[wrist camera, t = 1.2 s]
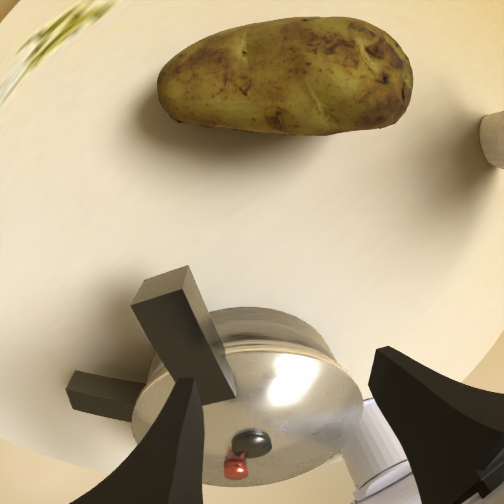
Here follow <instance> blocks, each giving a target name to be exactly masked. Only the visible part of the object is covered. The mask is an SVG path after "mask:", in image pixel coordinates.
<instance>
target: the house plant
mask: <svg viewBox="0 0 504 504" xmlns="http://www.w3.org/2000/svg"><path fill="white" fill-rule="evenodd" d="M479 137H480V144H481V148H482V152H483V154H484V156H485V158H486V160H487V161H488V162H489V163H490V164H491V165H494V166H496V167H499V168H502V169H504V111H501V112H497V113H494V114H490V115H487V116H485V117H484V118H483V119H482V121H481V124H480V130H479Z"/></svg>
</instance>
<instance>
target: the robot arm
mask: <svg viewBox="0 0 504 504" xmlns="http://www.w3.org/2000/svg"><path fill="white" fill-rule="evenodd" d="M368 386H369V388H370V391H371V393H372V396H373V399H369V400H366V401H363V414H362V418H361V421H360V424H359V426H358V428H357V430H356V432H355V433H354V435H353V436H352V438H351V439H350V440H349V441H348V442H347V444H346V445H345V446H344V447H343V448H342V449H341V450H340V451H341V454H342V456H343V459H344V461H345V463H346V465H347V468H348V470H349V473H350V475H351V478H352V480H353V482H354V485H355V487H356V489H357V491H355V492H354V493H353V494H354V496H355V499H356V500H353V501H352V502H351V503H350V504H504V394H501V393H494V392H490V391H485V390H482V389H478V388H474V387H471V386H468V385H465V384H462V383H460V382H457V381H455V380H452V379H450V378H448V377H446V376H444V375H441V374H439V373H437V372H435V371H433V370H431V369H429V368H428V367H426V366H424V365H422V364H420V363H419V362H417V361H415V360H413V359H411V358H410V357H408V356H406V355H404V354H403V353H401V352H399V351H397V350H396V349H394V348H392V347H390V346H386V347H382V348H379V349H376V352H375V357H374V362H373V366H372V370H371V374H370V379H369V383H368ZM204 439H205V429H204V411H203V408H202V404H201V400H200V396H199V393H198V389H197V385H196V381H195V377H189V378H178V379H177V380H176V382H175V385H174V387H173V389H172V391H171V393H170V395H169V397H168V399H167V401H166V402H165V404H164V406H163V408H162V409H161V411H160V413H159V415H158V416H157V418H156V420H155V421H154V423H153V424H152V426H151V427H150V429H149V430H148V432H147V433H146V434H145V436H144V437H143V439H142V440H141V441H140V443H139V444H138V445H137V446H136V448H135V449H134V450H133V451H132V452H131V454H130V455H129V456H128V457H127V458H126V459H125V460H124V461H123V462H122V463H121V464H120V465H119V466H118V467H117V468H116V469H115V470H114V471H113V472H112V473H111V474H110V475H109V476H108V477H106V478H105V479H104V480H103V481H101V482H100V483H99V484H98V485H97V486H95V487H94V488H93V489H91V490H90V491H89V492H87V493H86V494H84V495H82V496H81V497H79V498H78V499H76V500H74V501H73V502H71V503H69V504H203V497H202V472H203V455H204Z"/></svg>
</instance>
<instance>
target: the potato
mask: <svg viewBox="0 0 504 504" xmlns="http://www.w3.org/2000/svg"><path fill="white" fill-rule="evenodd" d="M412 87H413V73H412V68H411V66H410V62H409V59H408V57H407V56H406V55H405V53H404V52H403V50H402V49H401V47H400V45H399V44H398V43H397V42H396V41H395V40H394V39H393V38H392V37H391V36H390V35H389V34H387V33H386V32H385V31H383V30H381V29H379V28H378V27H376V26H374V25H372V24H370V23H367V22H365V21H362V20H358V19H355V18H349V17H293V18H285V19H278V20H273V21H267V22H261V23H253V24H248V25H245V26H240V27H236V28H232V29H228V30H225V31H222V32H219V33H216V34H213V35H211V36H208V37H206V38H204V39H202V40H200V41H198V42H196V43H194V44H192V45H190V46H189V47H187V48H186V49H184V50H182V51H181V52H180V53H178V54H177V55H175V56H174V57H173V58H172V59H171V60H170V61H169V62H168V63H167V64H166V65H165V66H164V67H163V69H162V70H161V72H160V74H159V76H158V80H157V89H158V96H159V101H160V103H161V105H162V107H163V108H164V109H165V110H166V111H167V112H168V113H169V115H170V117H171V118H173V119H174V120H176V121H177V122H178V123H190V124H197V125H202V126H204V127H211V128H218V127H226V128H232V129H233V130H240V131H247V132H252V133H253V132H255V131H256V132H265V133H279V134H283V135H286V134H290V135H304V136H327V135H332V134H337V133H342V132H349V131H357V130H369V129H377V128H380V129H381V128H384V127H387V126H389V125H392V124H395V123H396V122H397V121H398V120H399V119H400V117H401V116H402V115H403V114H404V113H405V112H406V109H407V107H408V105H409V102H410V99H411V93H412Z"/></svg>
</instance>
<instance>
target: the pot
mask: <svg viewBox="0 0 504 504" xmlns="http://www.w3.org/2000/svg"><path fill="white" fill-rule="evenodd" d="M209 315H210V317H211V319H212V322H213V324H214V326H215V328H216V330H217V333H218V335H219V337H220V339H221V341H222V343H223V346H224V348H232V347H239V346H254V345H273V346H286V347H293V348H300V349H304V350H308V351H312V352H315V353H318V354H320V355H323V356H325V357H328V358H330V359H331V360H333V361H335V362H336V363H337V361H336V359H335V358H334V356H333V354H332V353H331V351H330V349H329V347H328V346H327V344H326V342H325V341H324V339H323V338H322V337H321V335H320V334H319V333H318V332H317V331H316V330H315V329H314V328H313V327H311V326H310V325H309V324H307V323H306V322H304V321H303V320H301V319H299V318H297V317H295V316H293V315H290V314H287V313H284V312H281V311H277V310H273V309H267V308H258V307H237V308H228V309H222V310H218V311H213V312H210V313H209ZM165 369H166V367H165V366H164V364H163V362H162V361H161V359H160V357H159V356H158V354H157V352H155V354H154V357H153V359H152V362H151V366H150V370H149V374H148V377H147V381H146V385H147V384H148V382H149V381H151V380H152V379H153V378H154V377H155V376H157V375H158V374H159V373H161V372H162V371H164V370H165ZM146 385H145V383H138V382H132V381H125V380H120V379H114V378H109V377H104V376H99V375H94V374H89V373H85V372H80V371H76V370H75V372H74V374H73V376H72V378H71V380H70V382H69V383H68V385H67V387H66V392H67V394H68V397H69V400H70V403H71V405H72V408H73V409H75V410H79V411H82V412H86V413H90V414H94V415H99V416H103V417H108V418H113V419H118V420H123V421H128V422H132V415H133V411H134V407H135V403H136V400H137V398H138V396H139V394H140V392H141V391H142V390H143V388H144V387H145V386H146Z"/></svg>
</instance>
